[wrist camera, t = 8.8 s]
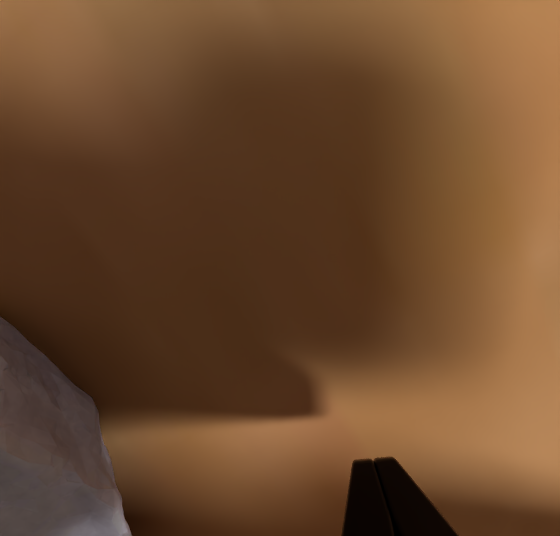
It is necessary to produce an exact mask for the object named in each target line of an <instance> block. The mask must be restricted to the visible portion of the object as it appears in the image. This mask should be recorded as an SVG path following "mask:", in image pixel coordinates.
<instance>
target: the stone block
mask: <svg viewBox="0 0 560 536" xmlns="http://www.w3.org/2000/svg"><path fill="white" fill-rule="evenodd" d="M0 536H132V535H131V532H130V528H129V526H128V524H127V522H126V520H125V518H124V510H123V507H122V496H121V494H120V493H119V491H118V488H117V486H116V483H115V477H114V472H113V468H112V463H111V458H110V456H109V454H108V451H107V448H106V446H105V445H104V442H103V439H102V434H101V430H100V422H99V413H98V410H97V408H96V406H95V404H94V401H93V399H92V397H90V396H89V395H88V394H87V393H85V392H84V391H82V390H81V389H79V388H78V387H77V386H75V385H74V384H73V383H72V382H71V381H70V380H69V379H68V378H67V377H66V376H65V375H64V374H63V373H62V372H61V371H60V370H59V369H58V367H57V366H56V365H55V364H53V363H52V362H51V361H50V360H49V359H48V358H47V357H46V356H45V355H44V354H43V353H42V352H41V351H40V350H39V349H37V348H36V347H35V346H34V345H32V344H31V343H30V342H29V341H28V340H27V339H26V338H25V337H24V336H23V335H22V334H21V333H20V332H19V331H18V330H17V329H16V328H15V327H14V326H12V325H11V324H10V323H8V322H7V321H6V320H4V319H3V318H2V317H0Z"/></svg>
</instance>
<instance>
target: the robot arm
mask: <svg viewBox="0 0 560 536" xmlns="http://www.w3.org/2000/svg"><path fill="white" fill-rule="evenodd" d="M342 536H459V535H458V534H457V533H456V531H455V530H454V529H453V528H452V527H451V525H450V524H449V523H448V522H447V520H446V519H445V518H444V517H443V516H442V514H441V513H440V512H439V511H438V510H437V508H436V507H435V506H434V505H433V504H432V502H431V501H430V500H429V499H428V498H427V496H426V495H425V494H424V493H423V491H422V490H421V489H420V488H419V487H418V485H417V484H416V483H415V482H414V481H413V479H412V478H411V477H410V476H409V475H408V473H407V472H406V471H405V470H404V469H403V467H402V466H401V465H400V464H399V462H398V461H397V460H396V459H395V458H393V457H381V458H375V459H374V461H373V460H372V459H359V460H354V461H353V463H352V469H351V475H350V482H349V489H348V495H347V502H346V509H345V516H344V522H343V529H342Z"/></svg>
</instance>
